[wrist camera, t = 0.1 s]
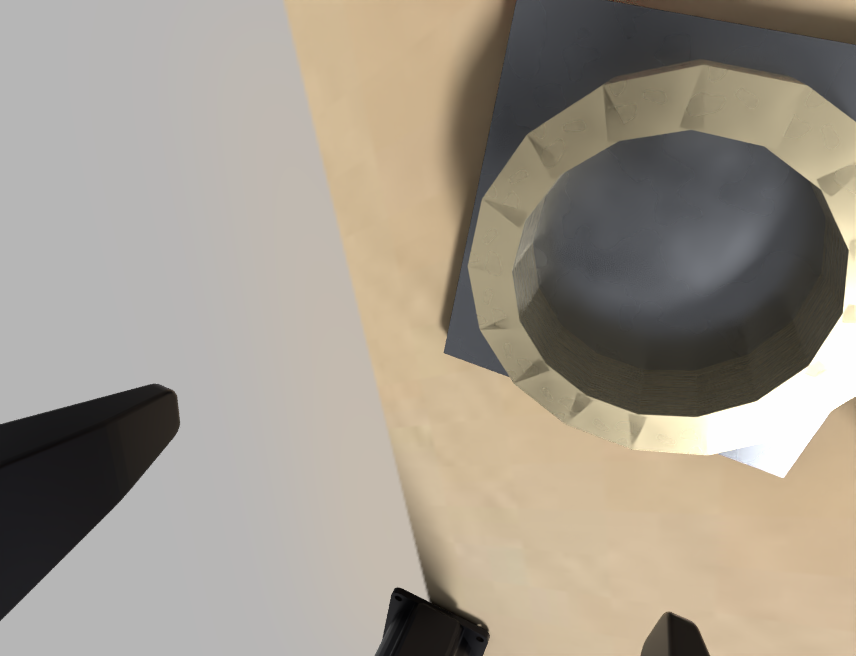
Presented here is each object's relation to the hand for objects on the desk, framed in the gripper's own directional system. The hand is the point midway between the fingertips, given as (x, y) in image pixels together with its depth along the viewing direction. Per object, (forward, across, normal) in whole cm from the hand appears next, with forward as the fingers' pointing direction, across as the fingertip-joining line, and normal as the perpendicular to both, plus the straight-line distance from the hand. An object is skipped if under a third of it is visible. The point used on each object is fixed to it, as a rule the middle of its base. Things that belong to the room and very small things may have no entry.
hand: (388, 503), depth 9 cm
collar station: (+15, -4, -1) cm, 15 cm away
